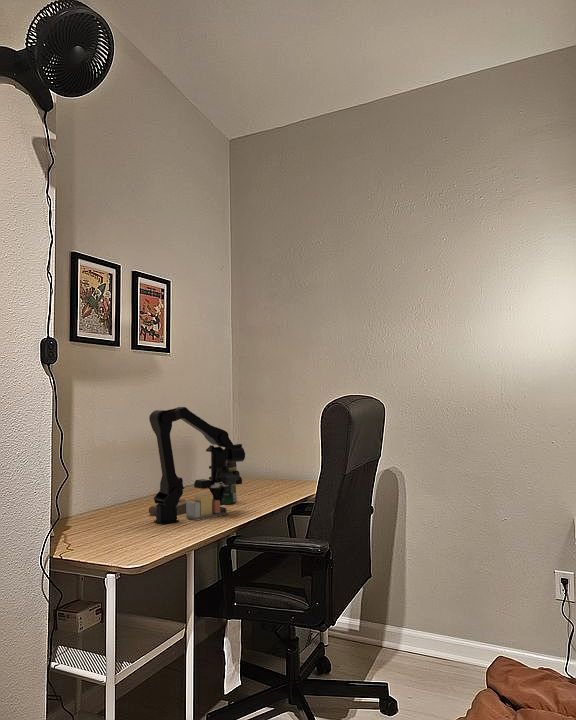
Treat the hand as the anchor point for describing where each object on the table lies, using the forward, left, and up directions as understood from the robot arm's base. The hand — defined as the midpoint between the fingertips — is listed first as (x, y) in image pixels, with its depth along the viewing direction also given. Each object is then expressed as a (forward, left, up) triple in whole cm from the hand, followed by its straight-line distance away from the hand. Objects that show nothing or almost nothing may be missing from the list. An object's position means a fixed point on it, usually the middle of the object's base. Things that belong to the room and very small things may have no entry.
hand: (218, 505), depth 226 cm
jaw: (-2, 0, -2) cm, 3 cm away
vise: (-5, 0, -3) cm, 6 cm away
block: (-7, 0, -2) cm, 7 cm away
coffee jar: (+17, +18, -4) cm, 25 cm away
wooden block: (-1, +20, -2) cm, 20 cm away
